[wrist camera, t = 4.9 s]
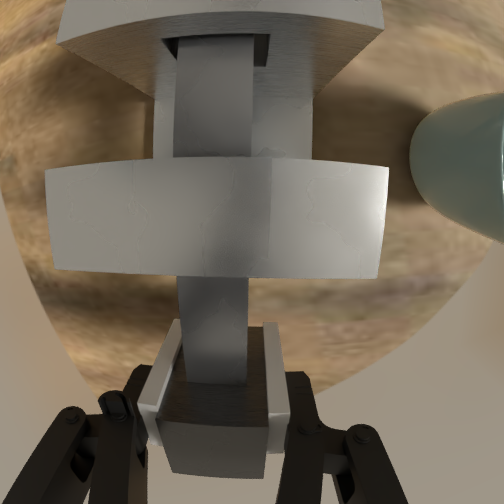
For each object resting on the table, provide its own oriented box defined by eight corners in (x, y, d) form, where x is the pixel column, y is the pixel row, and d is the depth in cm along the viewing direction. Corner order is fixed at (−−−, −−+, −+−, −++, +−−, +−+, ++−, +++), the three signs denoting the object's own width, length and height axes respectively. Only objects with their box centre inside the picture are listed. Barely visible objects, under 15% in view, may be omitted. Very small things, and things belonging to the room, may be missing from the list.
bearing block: (162, 53, 15) (78, -35, 5) (309, 52, 15) (369, -50, 5) (158, 217, 18) (57, 284, 8) (306, 219, 19) (373, 295, 8)
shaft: (191, 4, 11) (155, -78, 4) (271, 3, 11) (283, -87, 4) (194, 379, 17) (172, 472, 10) (260, 381, 17) (263, 478, 10)
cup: (394, 217, 18) (492, 265, 9) (387, 103, 16) (487, 69, 7) (473, 213, 18) (568, 249, 9) (470, 114, 16) (568, 107, 6)
